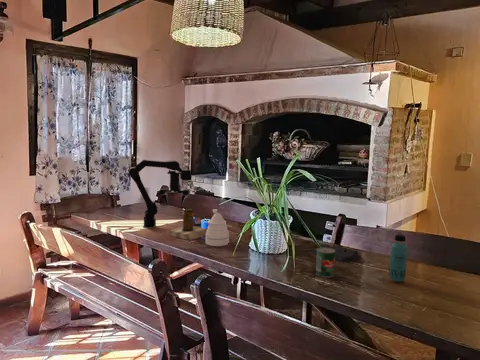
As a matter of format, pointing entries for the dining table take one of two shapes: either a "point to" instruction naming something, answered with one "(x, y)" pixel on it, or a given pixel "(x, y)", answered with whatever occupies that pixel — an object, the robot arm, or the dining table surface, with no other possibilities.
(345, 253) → the dark slate chunk
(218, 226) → the honey pot
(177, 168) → the robot arm
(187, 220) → the condiment
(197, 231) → the base board
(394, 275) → the beverage bottle
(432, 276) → the dining table surface
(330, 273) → the canned tomato
